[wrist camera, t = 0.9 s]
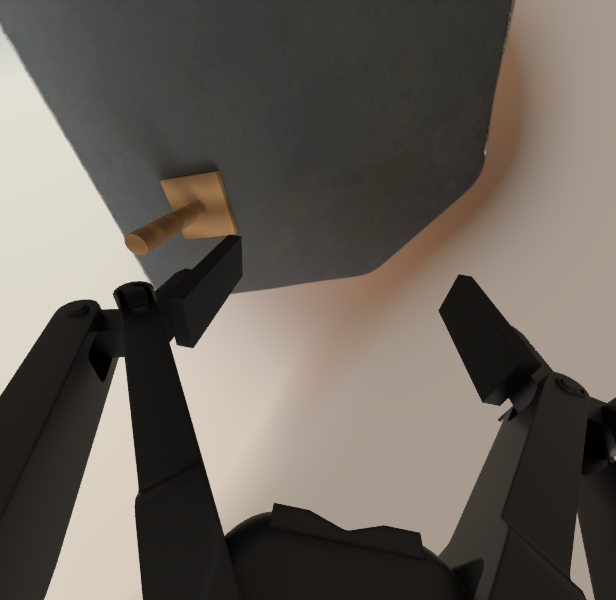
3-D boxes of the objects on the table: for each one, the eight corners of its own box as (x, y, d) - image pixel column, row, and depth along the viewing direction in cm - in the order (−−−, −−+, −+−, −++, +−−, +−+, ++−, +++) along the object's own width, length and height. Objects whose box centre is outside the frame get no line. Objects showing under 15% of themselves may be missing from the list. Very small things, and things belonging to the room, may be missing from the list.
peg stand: (164, 179, 37) (73, 206, 25) (219, 170, 36) (151, 194, 23) (189, 237, 42) (123, 284, 30) (238, 231, 41) (190, 278, 28)
